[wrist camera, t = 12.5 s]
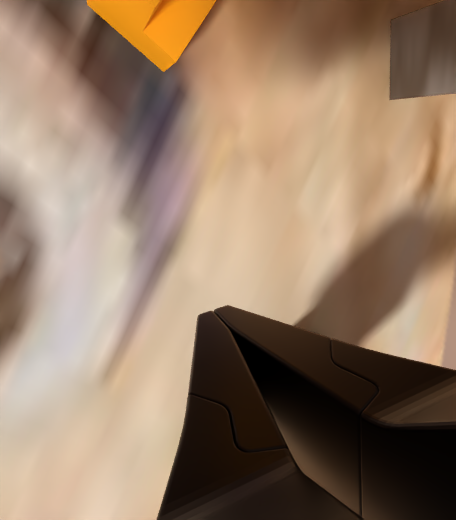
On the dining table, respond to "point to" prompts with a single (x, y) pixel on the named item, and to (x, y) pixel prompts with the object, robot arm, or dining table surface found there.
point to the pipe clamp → (155, 24)
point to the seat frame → (424, 52)
